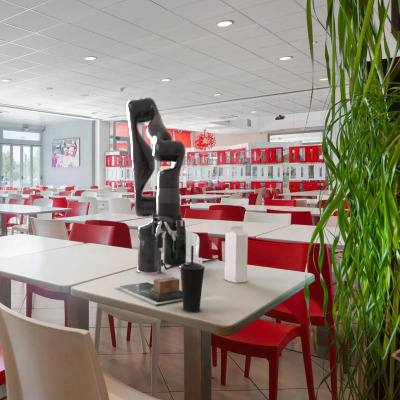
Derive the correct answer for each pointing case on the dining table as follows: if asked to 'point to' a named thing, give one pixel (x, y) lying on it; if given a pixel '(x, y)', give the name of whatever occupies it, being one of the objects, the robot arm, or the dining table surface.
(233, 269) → the milk
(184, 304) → the drinking cup
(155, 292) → the eraser
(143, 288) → the chalkboard
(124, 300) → the dining table surface
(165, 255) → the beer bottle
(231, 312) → the dining table surface
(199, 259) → the container set
